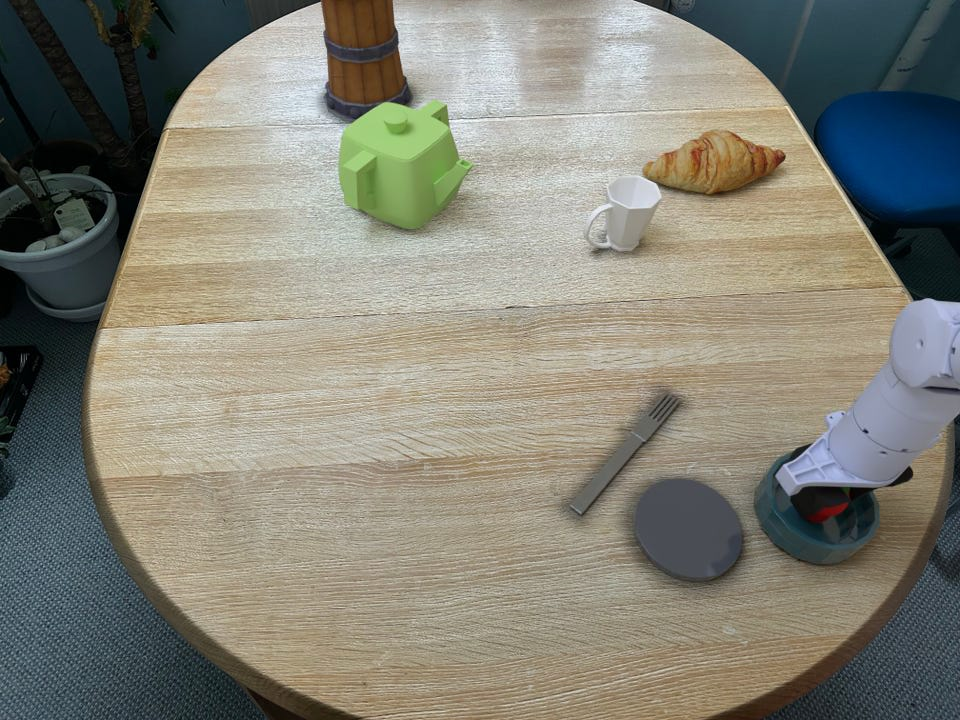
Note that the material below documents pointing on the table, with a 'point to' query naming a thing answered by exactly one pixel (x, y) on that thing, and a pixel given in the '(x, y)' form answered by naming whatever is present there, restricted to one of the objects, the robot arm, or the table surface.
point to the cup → (626, 211)
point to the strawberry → (829, 510)
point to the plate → (687, 530)
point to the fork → (624, 453)
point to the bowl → (814, 523)
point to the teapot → (401, 163)
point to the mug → (362, 57)
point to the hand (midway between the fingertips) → (818, 501)
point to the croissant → (714, 163)
